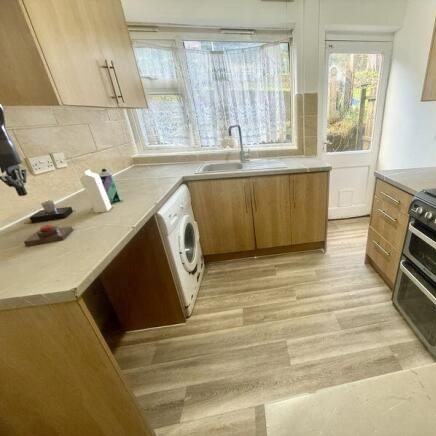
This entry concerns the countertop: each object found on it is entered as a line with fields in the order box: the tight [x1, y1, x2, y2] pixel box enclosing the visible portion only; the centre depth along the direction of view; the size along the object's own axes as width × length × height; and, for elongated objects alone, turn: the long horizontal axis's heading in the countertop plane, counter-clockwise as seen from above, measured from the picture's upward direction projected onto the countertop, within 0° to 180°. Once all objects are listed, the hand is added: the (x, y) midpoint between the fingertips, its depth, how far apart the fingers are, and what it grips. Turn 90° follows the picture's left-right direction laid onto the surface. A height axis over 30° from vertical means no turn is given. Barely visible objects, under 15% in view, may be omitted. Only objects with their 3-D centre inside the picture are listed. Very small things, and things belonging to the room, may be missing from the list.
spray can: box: [98, 168, 122, 204], centre depth 138 cm, size 6×6×20 cm
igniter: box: [23, 225, 74, 248], centre depth 102 cm, size 12×10×4 cm
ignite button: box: [39, 224, 53, 232], centre depth 101 cm, size 4×4×2 cm
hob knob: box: [40, 200, 57, 213], centre depth 122 cm, size 4×4×5 cm
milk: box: [80, 168, 112, 214], centre depth 126 cm, size 6×6×22 cm
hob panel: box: [29, 206, 74, 224], centre depth 124 cm, size 13×10×3 cm
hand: (23, 195), depth 100 cm, fingers closed
